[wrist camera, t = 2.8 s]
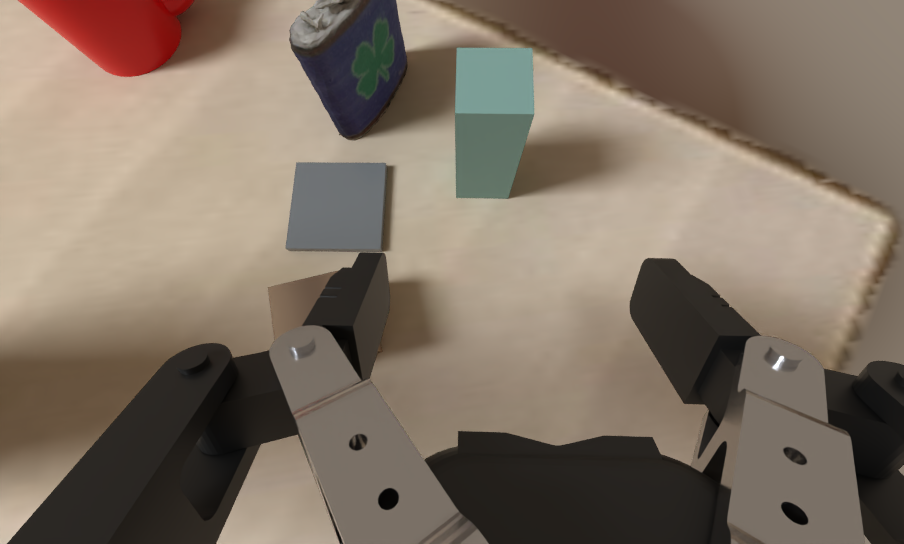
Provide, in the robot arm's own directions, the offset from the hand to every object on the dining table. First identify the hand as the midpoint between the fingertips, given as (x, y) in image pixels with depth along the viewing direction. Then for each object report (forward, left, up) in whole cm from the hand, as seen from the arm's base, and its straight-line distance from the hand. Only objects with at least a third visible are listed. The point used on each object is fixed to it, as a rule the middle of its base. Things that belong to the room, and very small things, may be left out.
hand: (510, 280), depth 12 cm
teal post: (0, +12, -15) cm, 19 cm away
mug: (-29, +26, -15) cm, 42 cm away
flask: (-9, +19, -15) cm, 26 cm away
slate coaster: (-11, +9, -15) cm, 21 cm away
